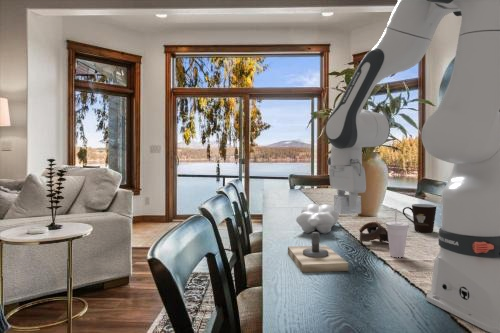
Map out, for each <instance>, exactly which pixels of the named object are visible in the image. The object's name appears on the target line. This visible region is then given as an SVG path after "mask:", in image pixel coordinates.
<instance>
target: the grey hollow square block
mask: <svg viewBox="0 0 500 333" xmlns="http://www.w3.org/2000/svg"><path fill="white" fill-rule="evenodd" d="M349 197H350V196H349V194H345V195H338V194H334V195H333V207H334V212H337V213H339V215H353V214H354V215H355V214H356V215H358V214H359V215H360V214H362V196H361V195H358V197H357V200H356V207H355V208H350V207H348V201H349Z"/></svg>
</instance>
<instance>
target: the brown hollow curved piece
mask: <svg viewBox="0 0 500 333" xmlns="http://www.w3.org/2000/svg"><path fill="white" fill-rule="evenodd" d="M365 230H366V231H367V232H368V233H365V232H364V231H365ZM375 240H378V241H379V242H387V243H389V241H388V233H387V228H386V227H384V226H383V225H381V223H380V222H377V221H370V222H367V223H365V224H363V225H362V226H361V227H360V228H359V241H360V244H361V245H362V244H363V242H370V241H375Z"/></svg>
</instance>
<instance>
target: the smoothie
mask: <svg viewBox="0 0 500 333" xmlns="http://www.w3.org/2000/svg"><path fill="white" fill-rule="evenodd" d="M385 228H386V230H387V233H388V241H389V242H388V248H389V249H388V250H389V256H390V257H391V256H392V257H391V258H394V257H397V258H396V259H402V258H401V257H403V258H404V257H405V251H406V246H407V238H408V231H409V228H410V224H409V223H408V222H404V221H398V208H394V221H387V222H385ZM398 257H399V258H398Z"/></svg>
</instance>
